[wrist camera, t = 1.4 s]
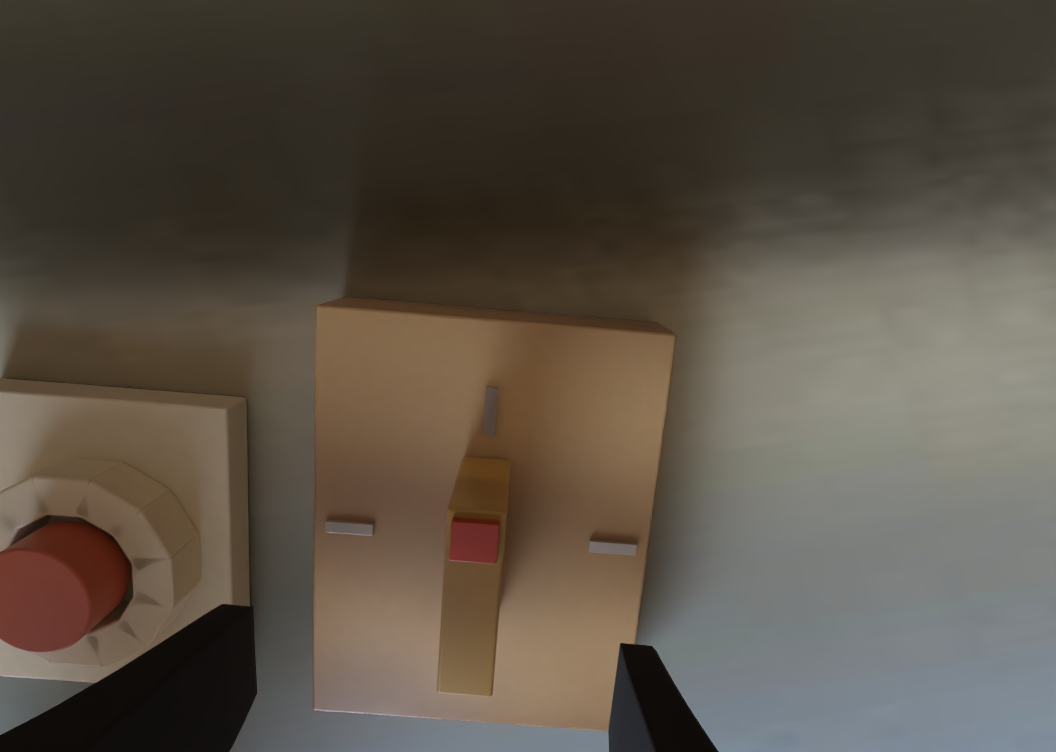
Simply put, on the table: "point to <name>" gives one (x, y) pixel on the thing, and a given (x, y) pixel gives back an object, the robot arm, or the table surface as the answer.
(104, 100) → the table surface
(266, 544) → the table surface
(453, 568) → the thumb turn
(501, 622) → the plate
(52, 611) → the bell button
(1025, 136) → the table surface
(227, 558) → the bell block
